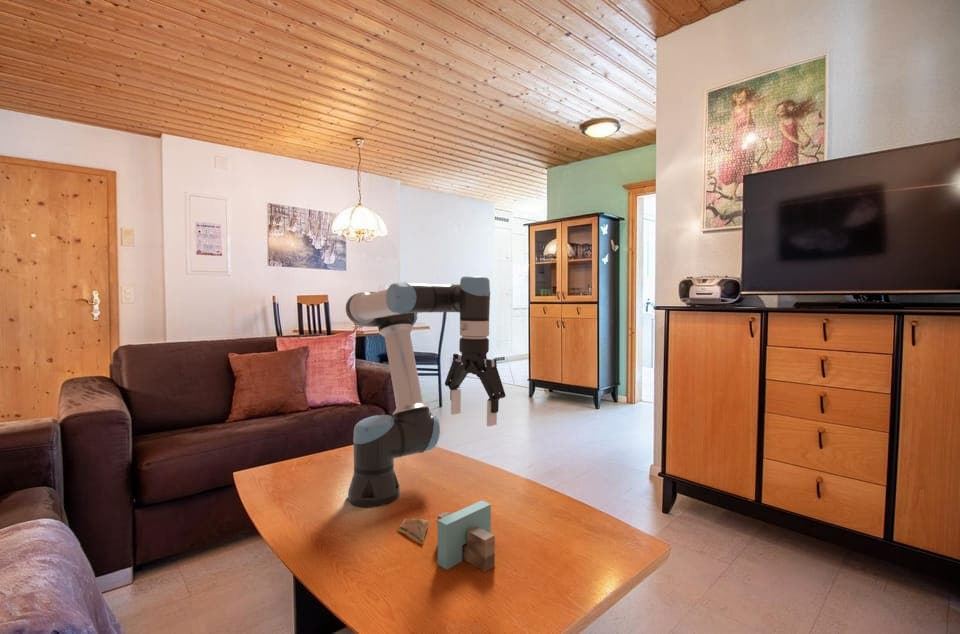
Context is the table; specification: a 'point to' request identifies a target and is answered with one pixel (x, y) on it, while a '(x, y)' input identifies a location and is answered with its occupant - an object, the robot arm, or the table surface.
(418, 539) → the shard
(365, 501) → the robot arm
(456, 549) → the teal board
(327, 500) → the table surface
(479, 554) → the walnut board
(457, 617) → the table surface
